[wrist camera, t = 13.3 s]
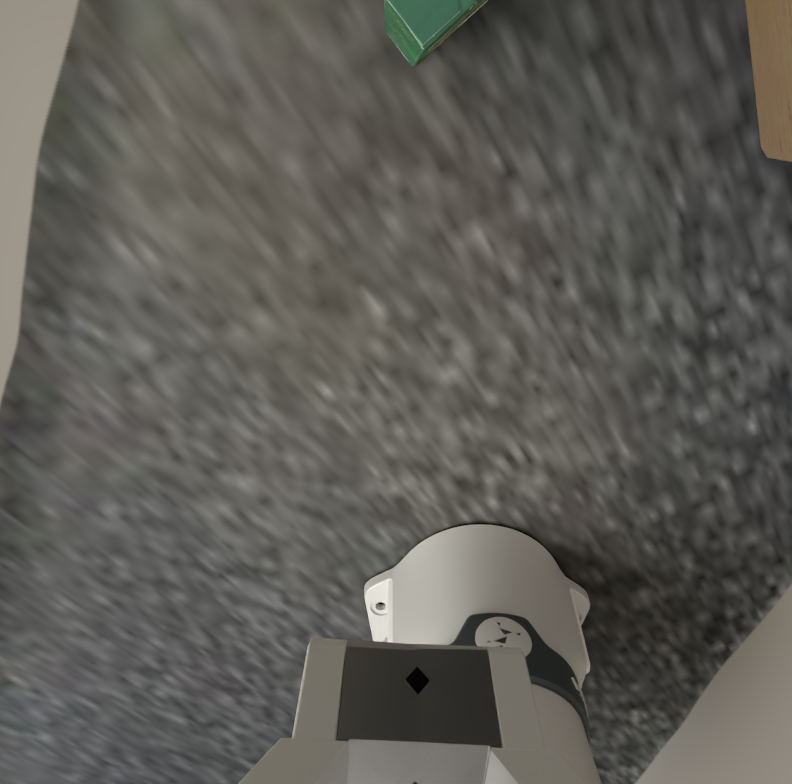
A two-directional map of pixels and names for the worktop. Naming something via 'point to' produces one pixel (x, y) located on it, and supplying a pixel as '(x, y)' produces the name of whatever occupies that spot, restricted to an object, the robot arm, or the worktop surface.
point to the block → (772, 73)
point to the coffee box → (425, 23)
